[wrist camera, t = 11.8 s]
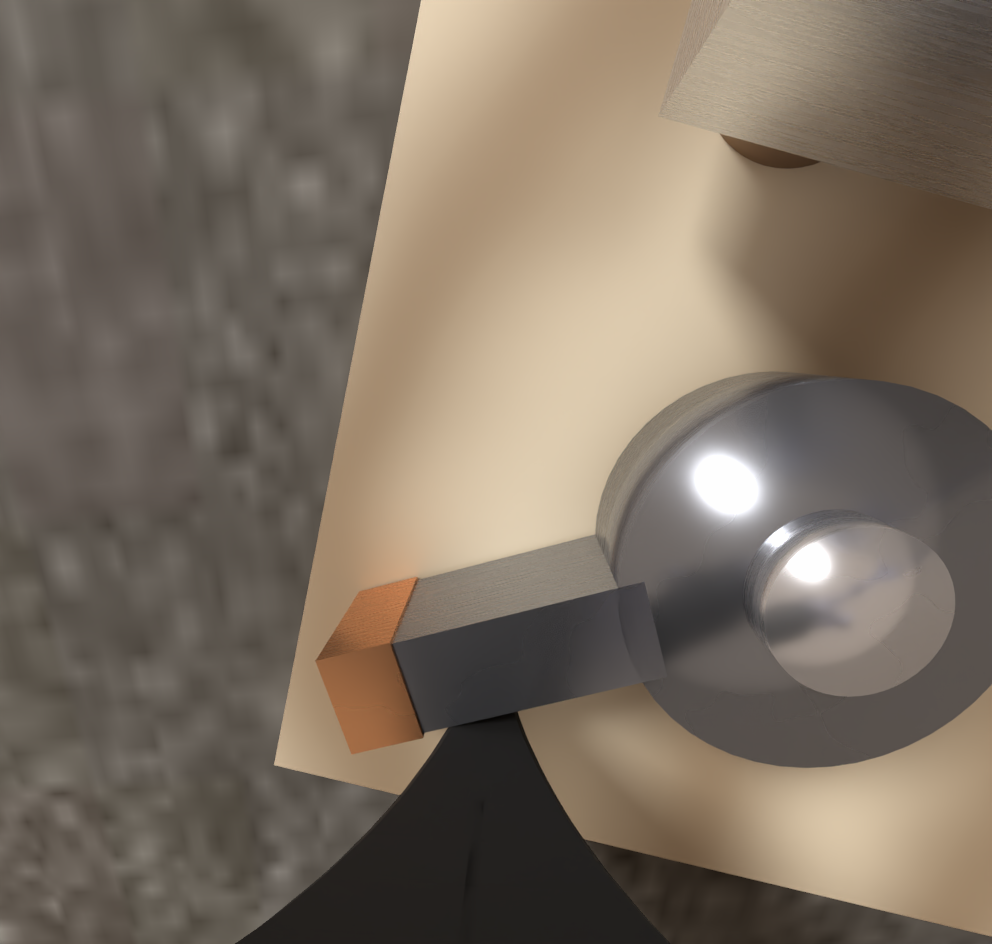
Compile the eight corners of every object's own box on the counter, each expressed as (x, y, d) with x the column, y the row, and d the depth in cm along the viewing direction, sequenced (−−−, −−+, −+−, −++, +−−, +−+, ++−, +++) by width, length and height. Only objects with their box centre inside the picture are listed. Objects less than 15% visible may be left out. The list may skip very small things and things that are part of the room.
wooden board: (1571, -43, 9) (2058, -221, 6) (1022, 902, 14) (1161, 1055, 11) (510, -352, 9) (508, -699, 6) (295, 727, 13) (233, 836, 10)
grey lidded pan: (899, 329, 10) (1088, 321, 6) (939, 637, 11) (1115, 757, 8) (322, 489, 11) (240, 550, 7) (418, 756, 12) (383, 906, 9)
